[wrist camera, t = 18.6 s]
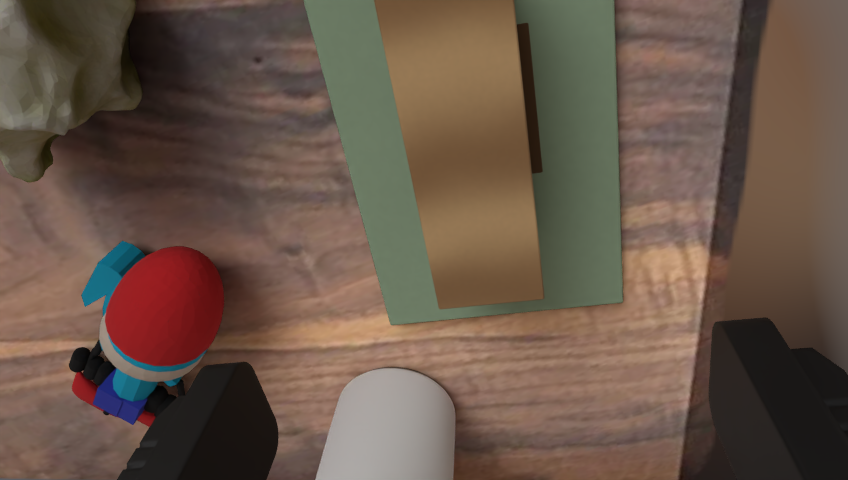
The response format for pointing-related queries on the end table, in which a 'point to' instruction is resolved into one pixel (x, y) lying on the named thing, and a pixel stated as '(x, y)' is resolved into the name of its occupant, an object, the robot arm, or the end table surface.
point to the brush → (466, 145)
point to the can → (391, 429)
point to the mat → (548, 143)
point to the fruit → (60, 73)
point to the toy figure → (147, 328)
